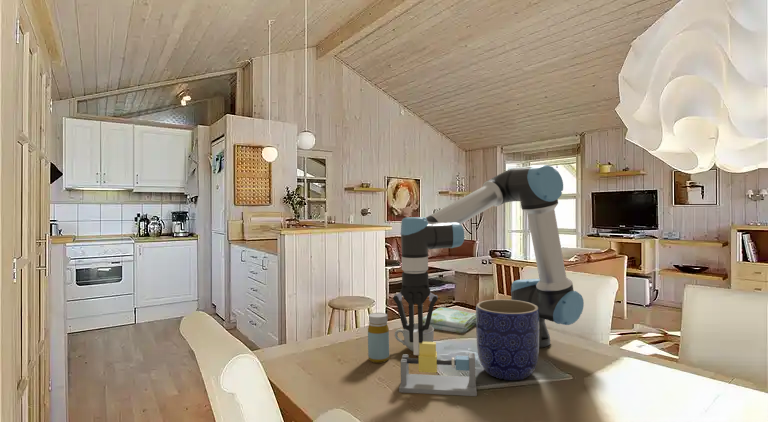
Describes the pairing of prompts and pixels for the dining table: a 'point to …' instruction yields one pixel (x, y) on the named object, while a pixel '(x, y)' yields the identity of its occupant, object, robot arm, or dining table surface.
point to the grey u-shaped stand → (440, 378)
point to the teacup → (427, 337)
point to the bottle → (378, 338)
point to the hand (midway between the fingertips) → (416, 353)
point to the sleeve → (427, 357)
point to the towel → (451, 320)
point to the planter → (507, 338)
